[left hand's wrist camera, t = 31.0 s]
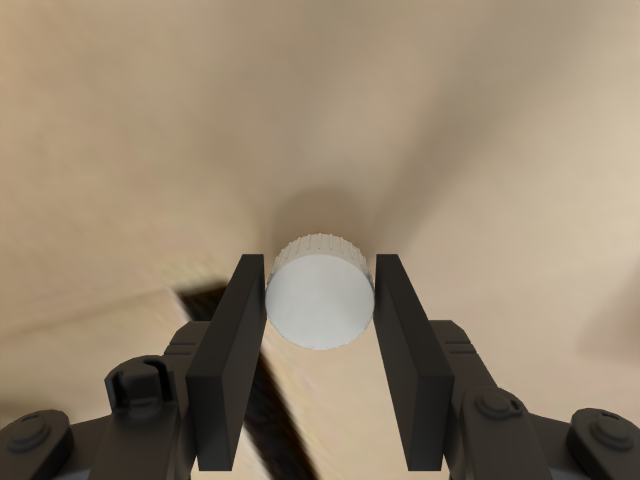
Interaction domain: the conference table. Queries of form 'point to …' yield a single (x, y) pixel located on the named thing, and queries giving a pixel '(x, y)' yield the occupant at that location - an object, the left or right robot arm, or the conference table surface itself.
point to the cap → (320, 292)
